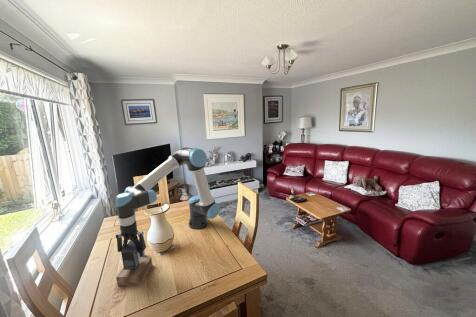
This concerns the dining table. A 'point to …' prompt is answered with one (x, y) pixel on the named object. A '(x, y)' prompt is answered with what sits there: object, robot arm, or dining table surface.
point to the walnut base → (134, 273)
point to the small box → (130, 256)
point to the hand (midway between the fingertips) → (134, 261)
